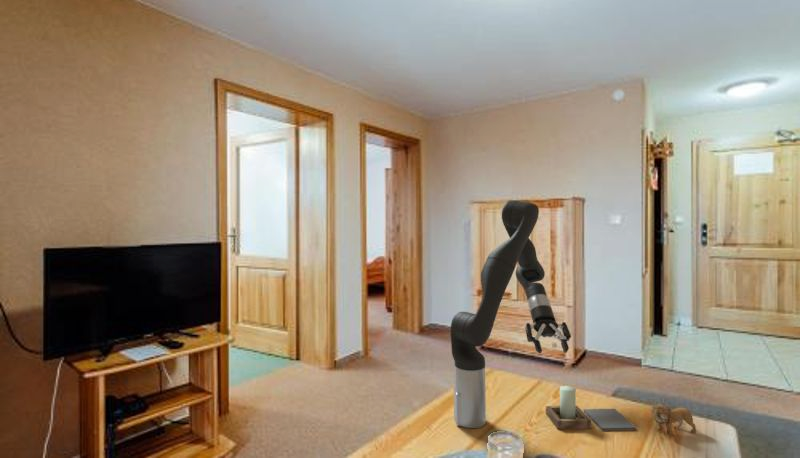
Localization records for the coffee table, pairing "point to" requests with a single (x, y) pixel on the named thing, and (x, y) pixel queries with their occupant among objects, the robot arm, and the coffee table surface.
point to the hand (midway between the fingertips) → (553, 352)
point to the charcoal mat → (609, 419)
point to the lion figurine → (671, 417)
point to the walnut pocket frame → (562, 424)
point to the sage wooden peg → (567, 403)
